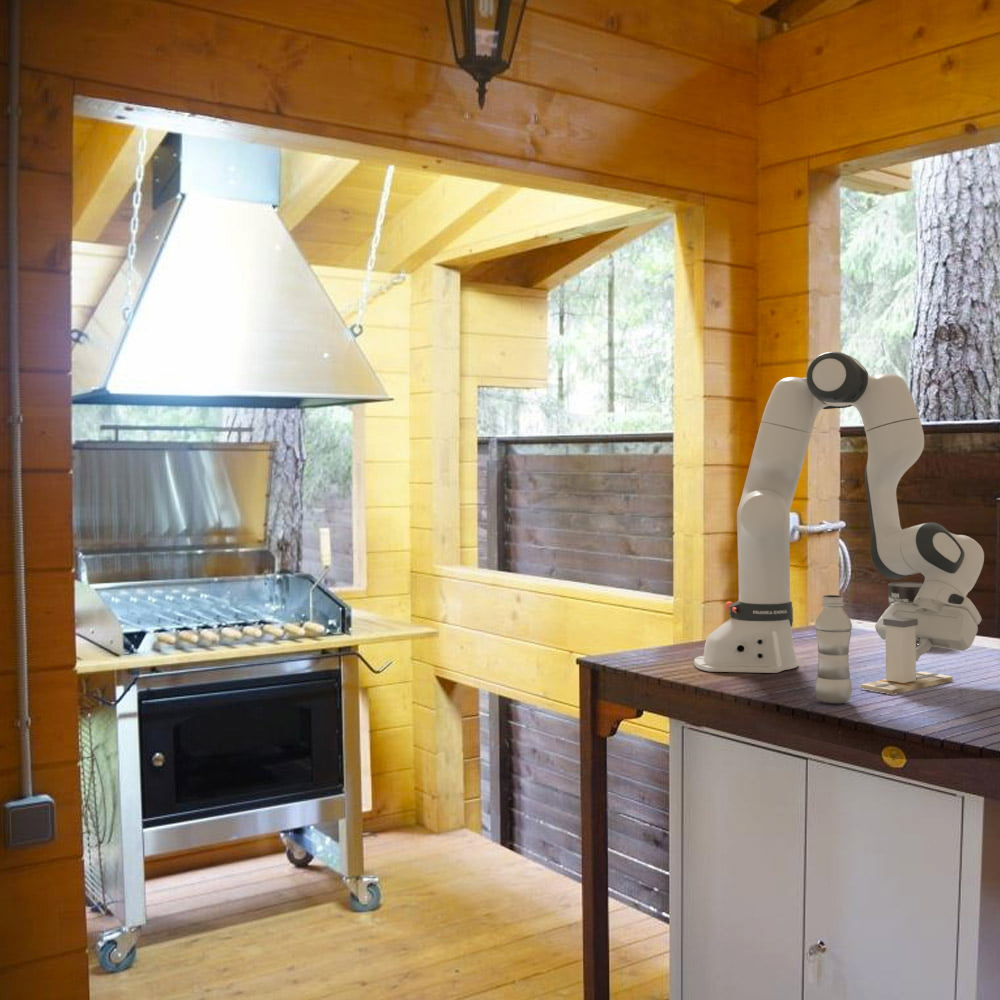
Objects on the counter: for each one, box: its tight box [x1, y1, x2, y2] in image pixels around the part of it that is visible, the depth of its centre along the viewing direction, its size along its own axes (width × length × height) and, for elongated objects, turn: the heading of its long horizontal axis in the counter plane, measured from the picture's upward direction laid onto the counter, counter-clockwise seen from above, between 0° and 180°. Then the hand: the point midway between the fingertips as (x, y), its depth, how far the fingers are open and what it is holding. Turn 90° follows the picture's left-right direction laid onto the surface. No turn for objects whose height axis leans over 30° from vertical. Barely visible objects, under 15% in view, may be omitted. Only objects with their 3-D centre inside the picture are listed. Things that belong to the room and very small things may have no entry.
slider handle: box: [883, 617, 918, 683], centre depth 220 cm, size 5×5×12 cm
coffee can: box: [887, 581, 924, 607], centre depth 272 cm, size 10×10×14 cm
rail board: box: [860, 671, 954, 695], centre depth 222 cm, size 20×7×1 cm, turn 125°
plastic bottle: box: [814, 594, 853, 704], centre depth 207 cm, size 6×7×20 cm
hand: (908, 658), depth 222 cm, fingers closed, pressing on slider handle
